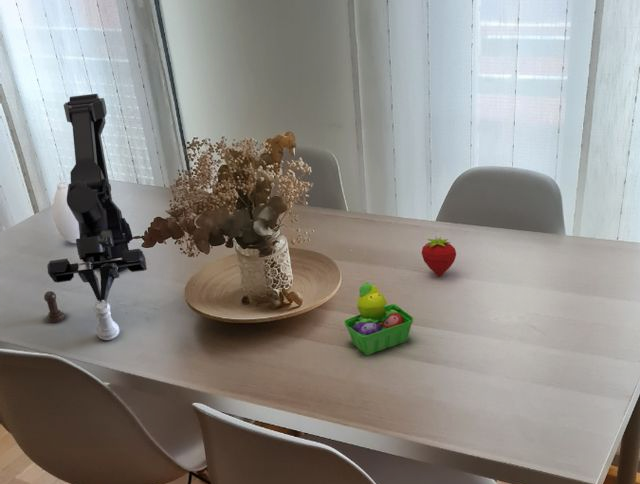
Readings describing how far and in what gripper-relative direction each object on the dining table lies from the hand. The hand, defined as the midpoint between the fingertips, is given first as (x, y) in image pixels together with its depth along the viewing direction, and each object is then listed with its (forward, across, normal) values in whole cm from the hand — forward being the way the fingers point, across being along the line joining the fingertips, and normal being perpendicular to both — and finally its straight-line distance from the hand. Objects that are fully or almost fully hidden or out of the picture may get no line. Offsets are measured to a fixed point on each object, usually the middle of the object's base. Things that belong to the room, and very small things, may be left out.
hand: (102, 305), depth 172 cm
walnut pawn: (-3, -12, +12) cm, 17 cm away
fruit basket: (+18, +52, -8) cm, 55 cm away
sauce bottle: (-32, -11, +41) cm, 53 cm away
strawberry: (+1, +70, +8) cm, 71 cm away
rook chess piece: (+5, 0, +4) cm, 7 cm away
